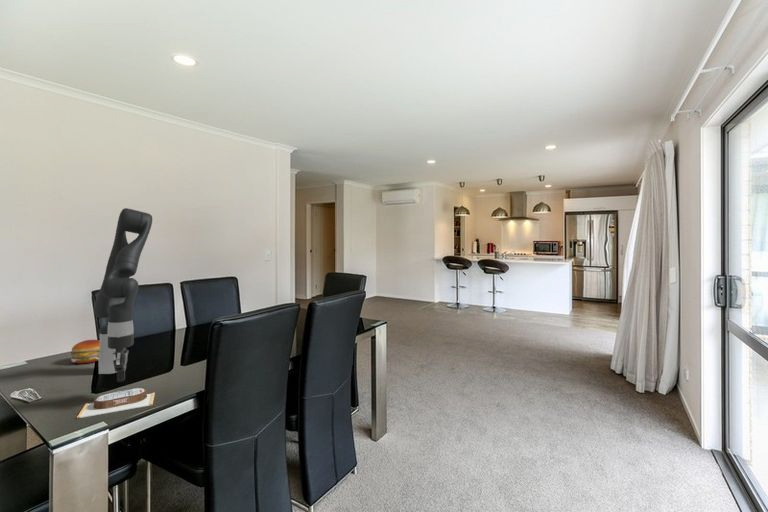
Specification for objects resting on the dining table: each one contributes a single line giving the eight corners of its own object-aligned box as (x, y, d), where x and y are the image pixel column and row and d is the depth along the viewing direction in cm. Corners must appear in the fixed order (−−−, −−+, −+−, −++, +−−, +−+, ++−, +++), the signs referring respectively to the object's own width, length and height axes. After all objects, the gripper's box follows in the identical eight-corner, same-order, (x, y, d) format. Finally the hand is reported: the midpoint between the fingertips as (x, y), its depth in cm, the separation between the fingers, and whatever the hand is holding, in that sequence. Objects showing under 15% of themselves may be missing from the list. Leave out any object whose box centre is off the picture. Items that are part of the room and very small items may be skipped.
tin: (94, 402, 122) (92, 413, 115) (94, 393, 122) (92, 404, 115) (146, 392, 131) (147, 401, 124) (146, 384, 131) (147, 393, 124)
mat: (76, 418, 111) (76, 417, 111) (85, 405, 121) (85, 403, 121) (152, 405, 121) (152, 403, 121) (154, 393, 131) (154, 392, 131)
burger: (82, 366, 161) (82, 345, 161) (63, 363, 165) (62, 342, 165) (113, 358, 174) (113, 338, 174) (94, 355, 178) (94, 336, 178)
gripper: (111, 330, 131) (111, 376, 131) (103, 338, 119) (104, 389, 119) (135, 328, 134) (136, 373, 135) (130, 336, 123) (131, 385, 123)
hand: (121, 380), depth 127 cm, fingers closed
